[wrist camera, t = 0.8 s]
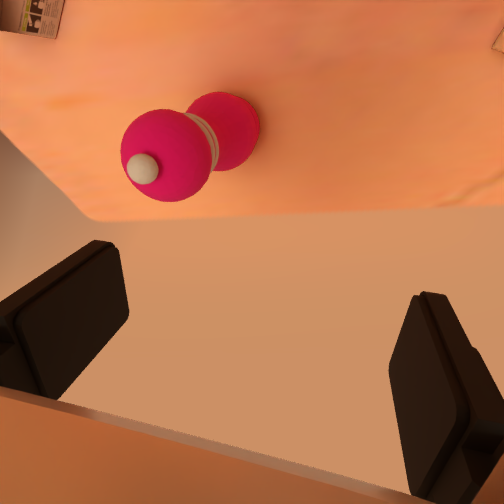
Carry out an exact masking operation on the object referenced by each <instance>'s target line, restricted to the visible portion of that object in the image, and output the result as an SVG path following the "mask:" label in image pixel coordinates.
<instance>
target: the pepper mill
mask: <svg viewBox="0 0 504 504" xmlns="http://www.w3.org/2000/svg"><path fill="white" fill-rule="evenodd" d="M259 130H260V126H259V120H258V116H257V114H256V112H255V110H254V109H253V107H252V106H251V105H250V104H249V103H248V102H247V101H245V100H244V99H242V98H239V97H236V96H233V95H231V94H228V93H224V92H213V93H209V94H206V95H204V96H201V97H200V98H198V99H197V100H195V101H194V102H193V103H192V105H191V106H190V107H189V108H188V110H187V111H186V113H180V112H176V111H173V110H170V109H159V110H153V111H149V112H147V113H145V114H143V115H141V116H139V117H138V118H137V119H135V120H134V121H133V122H132V123H131V124H130V126H129V127H128V128H127V130H126V132H125V134H124V136H123V139H122V143H121V150H120V151H121V162H122V165H123V168H124V171H125V173H126V175H127V177H128V179H129V180H130V181H131V183H132V184H133V185H134V186H135V187H136V188H137V189H138V190H139V191H141V192H142V193H143V194H145V195H146V196H148V197H150V198H152V199H155V200H159V201H163V202H177V201H181V200H184V199H186V198H188V197H190V196H192V195H194V194H195V193H197V192H198V191H199V190H200V189H201V188H202V187H203V185H204V184H205V183H206V181H207V180H208V177H209V174H210V173H211V172H212V171H226V170H230V169H233V168H235V167H237V166H239V165H240V164H242V163H243V162H244V161H245V160H246V159H247V158H248V157H249V156H250V154H251V153H252V151H253V148H254V146H255V144H256V142H257V139H258V136H259Z"/></svg>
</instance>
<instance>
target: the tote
mask: <svg viewBox="0 0 504 504" xmlns="http://www.w3.org/2000/svg"><path fill="white" fill-rule="evenodd" d="M492 49H495V50H498V51H501V52H503V53H504V28H503V30H502V32H501V33H500V35H499V37H498V38H497V40H496V42H495V43H494V45H493V46H492Z"/></svg>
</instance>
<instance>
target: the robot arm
mask: <svg viewBox="0 0 504 504" xmlns="http://www.w3.org/2000/svg"><path fill="white" fill-rule="evenodd" d="M128 316H129V307H128V301H127V295H126V290H125V284H124V277H123V272H122V266H121V260H120V254H119V250H118V249H117V248H115V245H114V244H113V243H111V242H106V241H100V240H94V241H91V242H90V243H88V244H87V245H85V246H84V247H82V248H81V249H79V250H78V251H76V252H75V253H73V254H72V255H70V256H69V257H67V258H66V259H64V260H63V261H61V262H60V263H58V264H57V265H55V266H54V267H52V268H51V269H49V270H48V271H46V272H44V273H43V274H42V275H40V276H38V277H37V278H35V279H34V280H32V281H31V282H29V283H28V284H27V285H25V286H23V287H22V288H20V289H19V290H17V291H16V292H14V293H13V294H11V295H10V296H8V297H7V298H6V299H4V300H2V301H1V302H0V504H504V399H503V397H502V395H501V394H500V392H499V390H498V388H497V386H496V384H495V382H494V380H493V378H492V376H491V375H490V372H489V370H488V369H487V367H486V365H485V363H484V361H483V359H482V357H481V355H480V353H479V352H478V351H477V349H476V348H474V347H472V346H471V344H470V342H469V340H468V338H467V336H466V334H465V332H464V330H463V328H462V326H461V324H460V322H459V320H458V318H457V316H456V314H455V312H454V310H453V308H452V306H451V304H450V302H449V300H448V298H447V297H446V295H443V294H438V293H431V292H425V291H423V292H421V293H420V295H419V296H418V295H414V296H413V297H412V299H411V302H410V305H409V308H408V311H407V314H406V316H405V319H404V322H403V325H402V328H401V331H400V334H399V337H398V340H397V343H396V345H395V348H394V351H393V354H392V357H391V360H390V363H389V378H390V383H391V389H392V395H393V401H394V406H395V412H396V418H397V423H398V429H399V434H400V440H401V446H402V451H403V457H404V462H405V468H406V474H407V480H408V485H409V490H410V493H411V495H412V496H411V495H408V494H405V493H402V492H398V491H395V490H391V489H388V488H385V487H381V486H377V485H374V484H371V483H367V482H364V481H360V480H356V479H353V478H349V477H346V476H343V475H339V474H335V473H332V472H328V471H325V470H321V469H317V468H314V467H309V466H306V465H302V464H299V463H295V462H291V461H287V460H284V459H279V458H276V457H272V456H269V455H265V454H261V453H257V452H254V451H250V450H246V449H242V448H239V447H235V446H231V445H227V444H223V443H220V442H216V441H212V440H208V439H205V438H201V437H197V436H193V435H189V434H185V433H182V432H178V431H174V430H170V429H166V428H162V427H158V426H155V425H151V424H147V423H143V422H139V421H135V420H132V419H128V418H124V417H120V416H116V415H112V414H109V413H105V412H100V411H97V410H93V409H88V408H85V407H81V406H77V405H73V404H69V403H65V402H61V401H57V400H58V399H59V398H60V397H61V395H62V394H63V393H64V392H65V391H66V390H67V389H68V387H69V386H70V385H71V384H72V383H73V382H74V381H75V379H76V378H77V377H78V376H79V375H80V374H81V372H82V371H83V370H84V369H85V368H86V367H87V366H88V364H89V363H90V362H91V361H92V360H93V359H94V358H95V356H96V355H97V354H98V353H99V352H100V351H101V350H102V348H103V347H104V346H105V345H106V344H107V343H108V341H109V340H110V339H111V338H112V337H113V336H114V335H115V333H116V332H117V331H118V330H119V329H120V327H121V326H122V325H123V324H124V323H125V322H126V320H127V319H128ZM414 496H415V497H414ZM417 497H418V498H417Z"/></svg>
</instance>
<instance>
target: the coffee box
mask: <svg viewBox="0 0 504 504" xmlns="http://www.w3.org/2000/svg"><path fill="white" fill-rule="evenodd" d="M63 3H64V0H0V31H7V32H13V33H20V34H26V35H33V36H40V37H46V38H52V39H55V38H56V35H57V30H58V26H59V21H60V16H61V12H62V7H63Z"/></svg>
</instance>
